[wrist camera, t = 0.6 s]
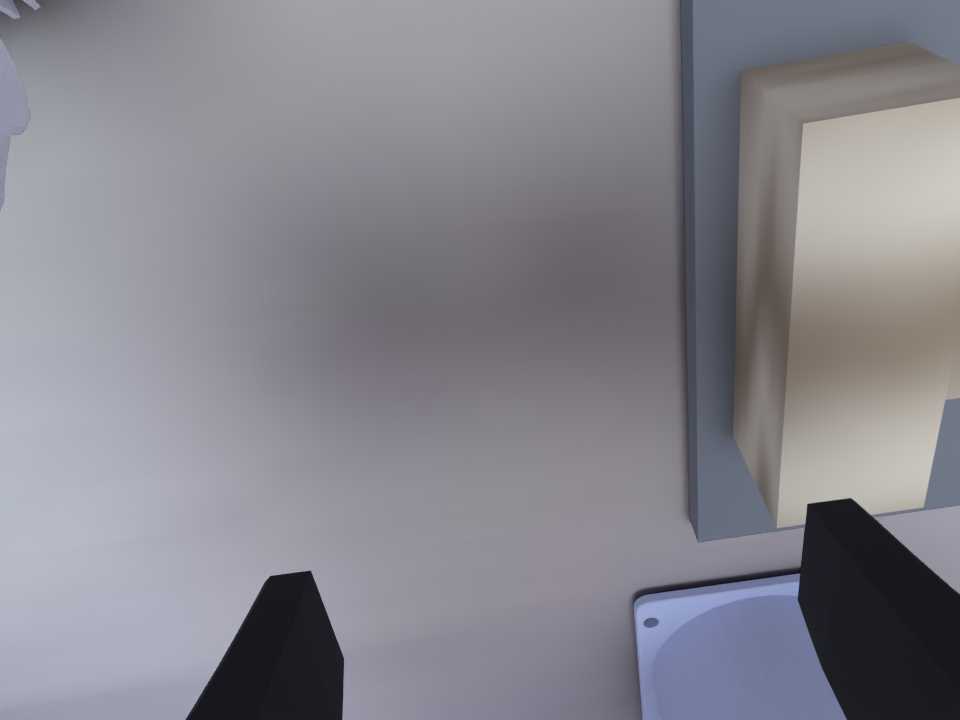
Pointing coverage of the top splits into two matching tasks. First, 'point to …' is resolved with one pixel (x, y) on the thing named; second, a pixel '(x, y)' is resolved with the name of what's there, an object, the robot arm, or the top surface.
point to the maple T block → (847, 276)
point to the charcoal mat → (714, 218)
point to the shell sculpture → (10, 96)
